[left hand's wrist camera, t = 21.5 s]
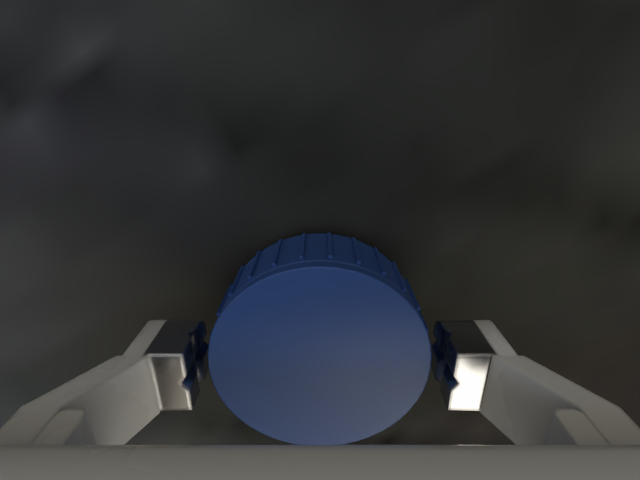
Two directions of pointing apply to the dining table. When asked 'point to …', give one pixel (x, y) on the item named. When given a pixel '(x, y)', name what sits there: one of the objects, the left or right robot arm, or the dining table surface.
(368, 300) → the lid
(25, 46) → the dining table surface
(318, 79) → the dining table surface
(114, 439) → the left robot arm
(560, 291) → the dining table surface
